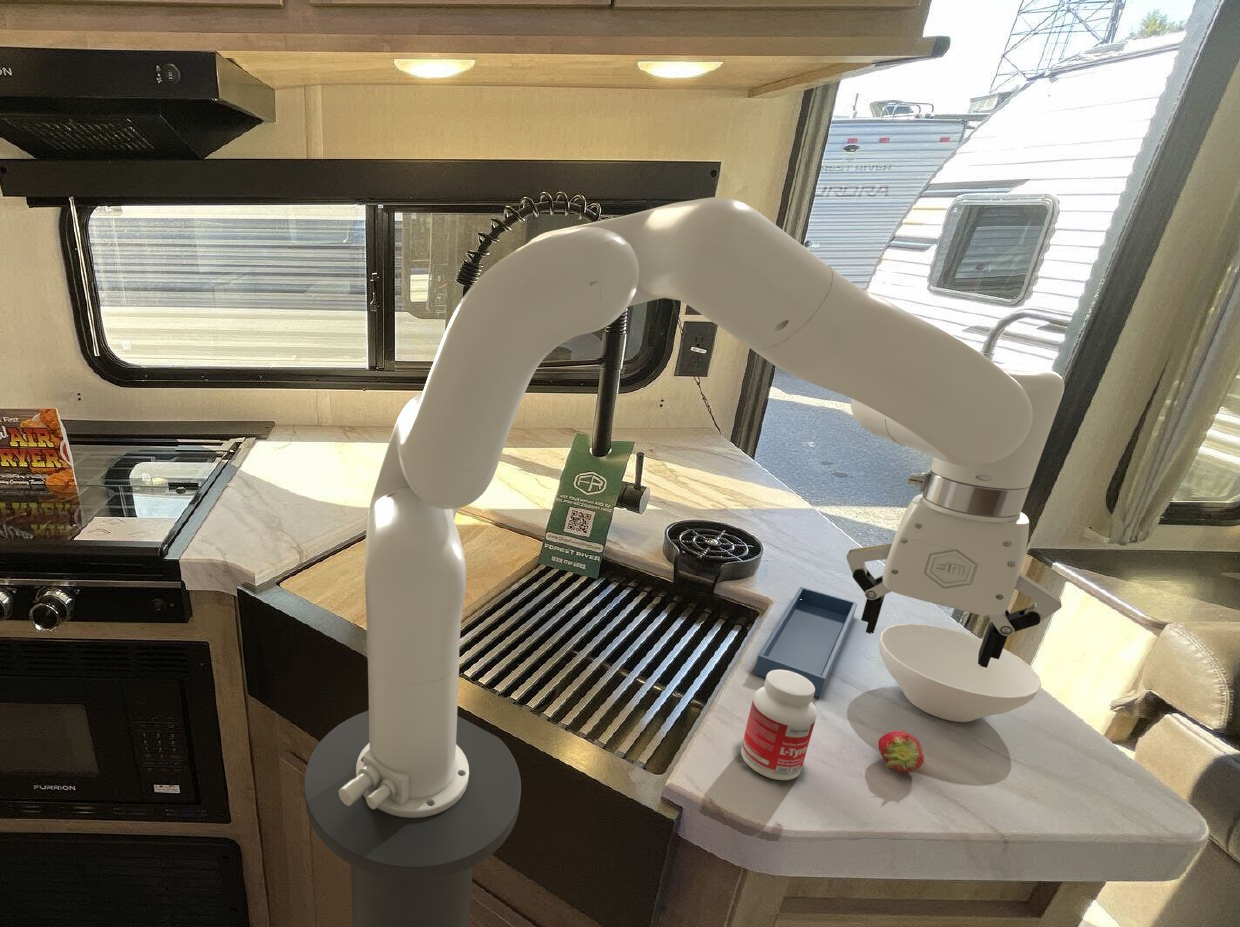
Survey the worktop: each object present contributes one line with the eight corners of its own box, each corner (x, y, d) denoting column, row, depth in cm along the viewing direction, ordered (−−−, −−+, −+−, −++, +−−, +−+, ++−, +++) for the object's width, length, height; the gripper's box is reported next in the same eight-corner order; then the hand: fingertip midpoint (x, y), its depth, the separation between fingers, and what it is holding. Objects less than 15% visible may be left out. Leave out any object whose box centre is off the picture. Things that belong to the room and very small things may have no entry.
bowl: (988, 764, 75) (1008, 714, 72) (841, 689, 88) (855, 644, 85) (1043, 717, 83) (1063, 670, 80) (901, 654, 95) (915, 612, 93)
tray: (819, 697, 86) (825, 678, 85) (753, 673, 91) (758, 655, 90) (853, 619, 105) (857, 602, 103) (796, 602, 109) (800, 586, 108)
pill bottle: (776, 789, 71) (798, 706, 67) (728, 753, 77) (746, 674, 73) (812, 771, 74) (836, 689, 70) (764, 737, 79) (783, 659, 75)
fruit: (919, 758, 76) (932, 723, 74) (917, 789, 72) (930, 753, 70) (875, 742, 78) (887, 708, 77) (870, 771, 74) (882, 735, 72)
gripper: (862, 485, 67) (824, 630, 73) (1101, 528, 56) (1033, 693, 62) (872, 467, 72) (836, 604, 78) (1092, 504, 62) (1031, 658, 68)
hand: (924, 643), depth 70 cm, fingers open, 9 cm apart
